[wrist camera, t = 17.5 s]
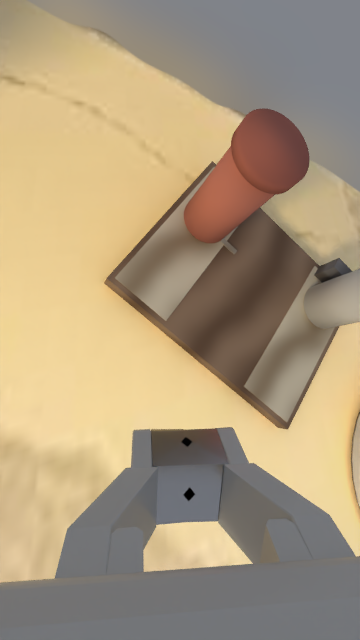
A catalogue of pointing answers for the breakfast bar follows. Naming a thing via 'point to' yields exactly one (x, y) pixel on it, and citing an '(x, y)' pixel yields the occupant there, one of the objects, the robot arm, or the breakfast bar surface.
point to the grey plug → (334, 301)
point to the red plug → (248, 175)
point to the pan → (356, 459)
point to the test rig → (233, 303)
